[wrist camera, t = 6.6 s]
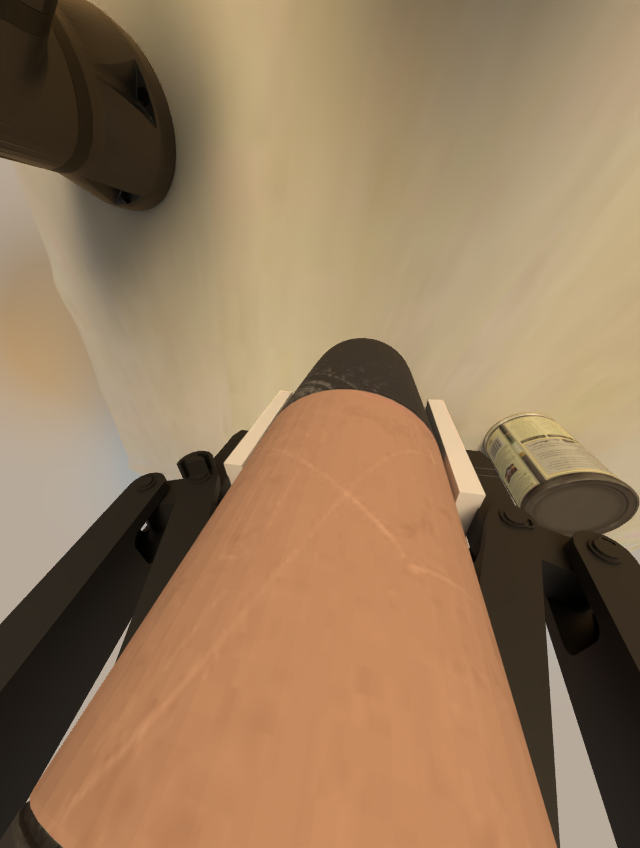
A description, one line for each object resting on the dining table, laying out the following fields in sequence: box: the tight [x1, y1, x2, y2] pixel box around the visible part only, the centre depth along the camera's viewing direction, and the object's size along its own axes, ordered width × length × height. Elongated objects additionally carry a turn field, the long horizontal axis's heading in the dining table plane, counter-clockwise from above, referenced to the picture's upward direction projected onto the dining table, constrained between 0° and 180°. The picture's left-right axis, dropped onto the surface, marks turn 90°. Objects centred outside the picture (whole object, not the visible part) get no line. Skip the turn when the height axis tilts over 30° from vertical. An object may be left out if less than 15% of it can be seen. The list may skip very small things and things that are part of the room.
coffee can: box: [484, 413, 639, 537], centre depth 34 cm, size 10×10×14 cm
